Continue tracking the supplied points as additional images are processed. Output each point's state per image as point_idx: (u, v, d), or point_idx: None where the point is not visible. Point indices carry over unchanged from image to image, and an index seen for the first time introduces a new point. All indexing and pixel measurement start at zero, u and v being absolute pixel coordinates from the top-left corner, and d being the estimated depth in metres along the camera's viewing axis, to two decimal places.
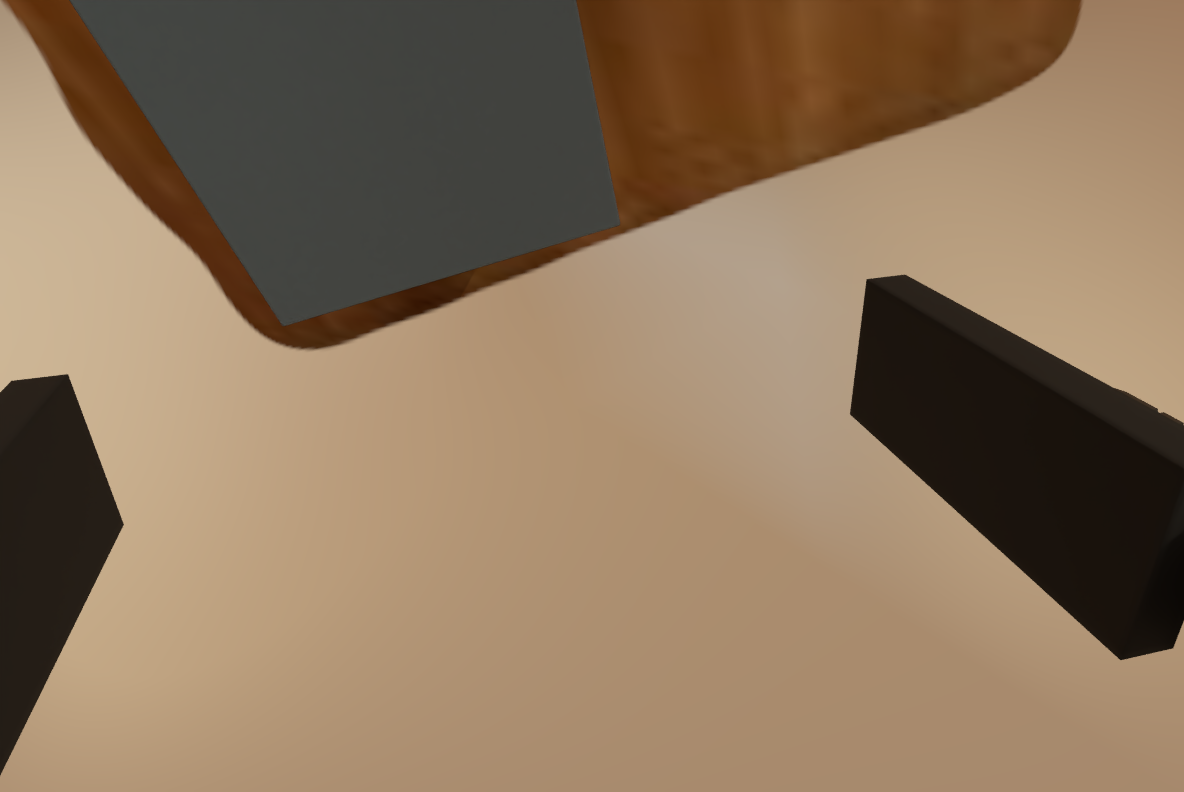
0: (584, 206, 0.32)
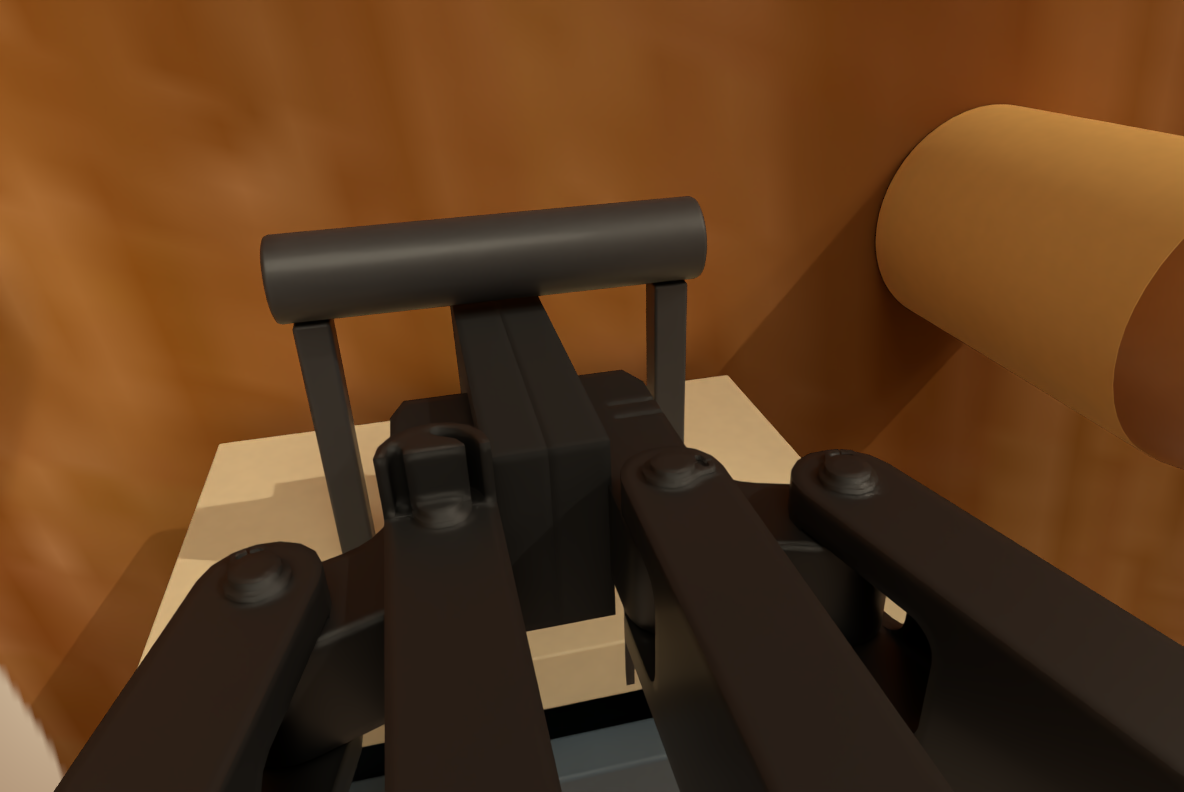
0: None
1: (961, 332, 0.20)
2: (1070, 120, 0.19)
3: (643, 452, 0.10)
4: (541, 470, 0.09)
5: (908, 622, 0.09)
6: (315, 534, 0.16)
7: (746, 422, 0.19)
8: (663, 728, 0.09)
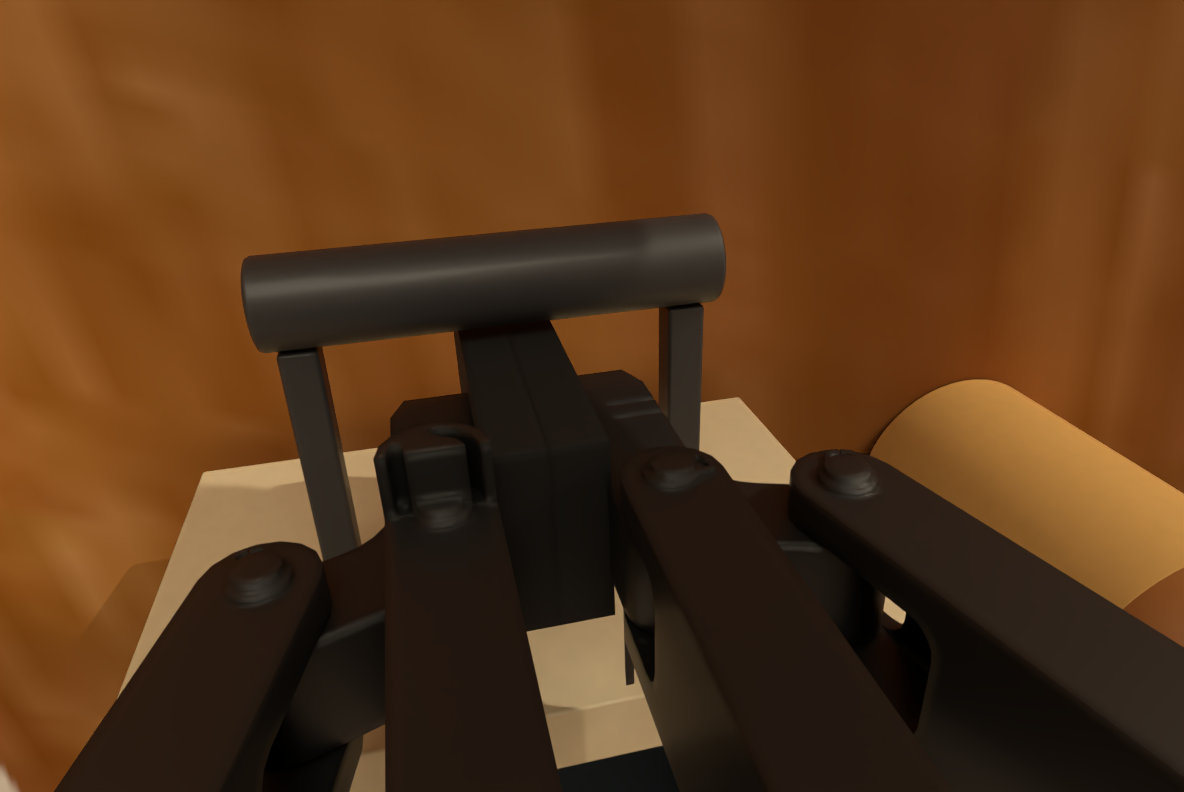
0: None
1: None
2: (1030, 426, 0.21)
3: (643, 452, 0.10)
4: (541, 470, 0.09)
5: (907, 622, 0.09)
6: None
7: (760, 449, 0.18)
8: (663, 728, 0.09)
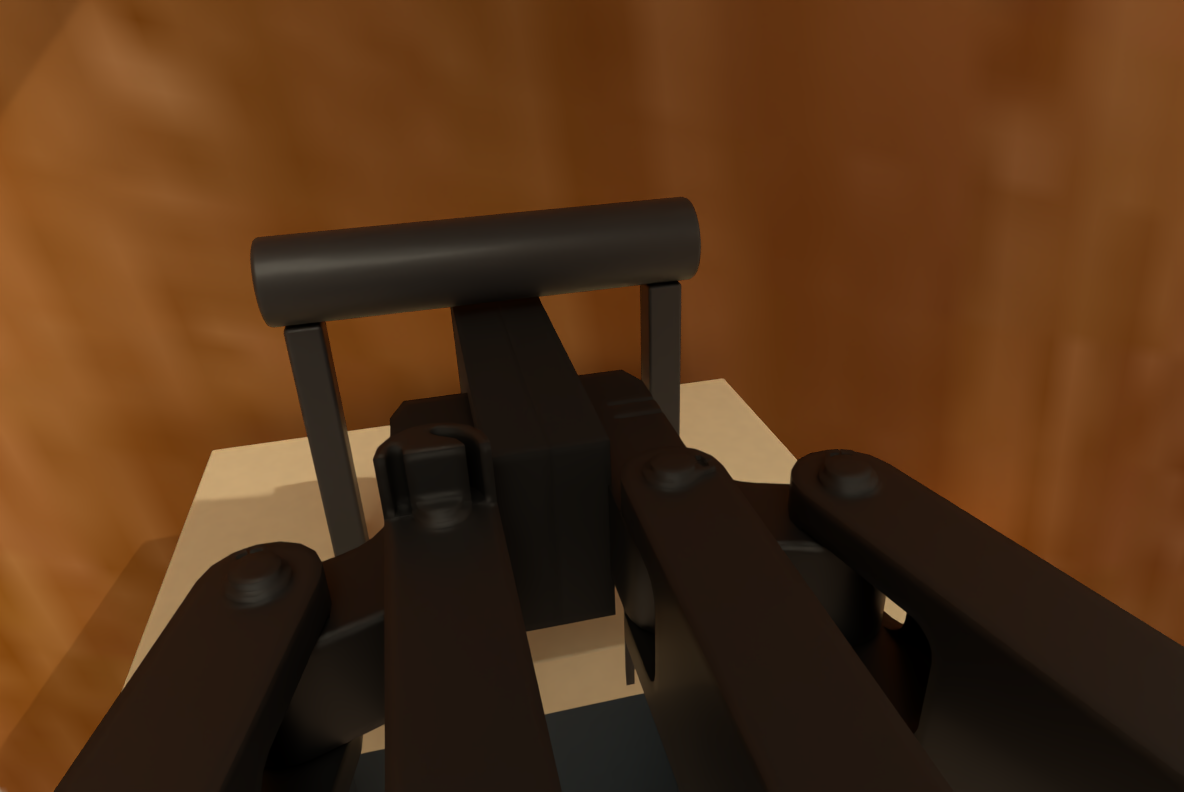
0: None
1: None
2: None
3: (643, 452, 0.10)
4: (541, 470, 0.09)
5: (907, 622, 0.09)
6: (308, 540, 0.16)
7: (742, 425, 0.19)
8: (663, 728, 0.09)
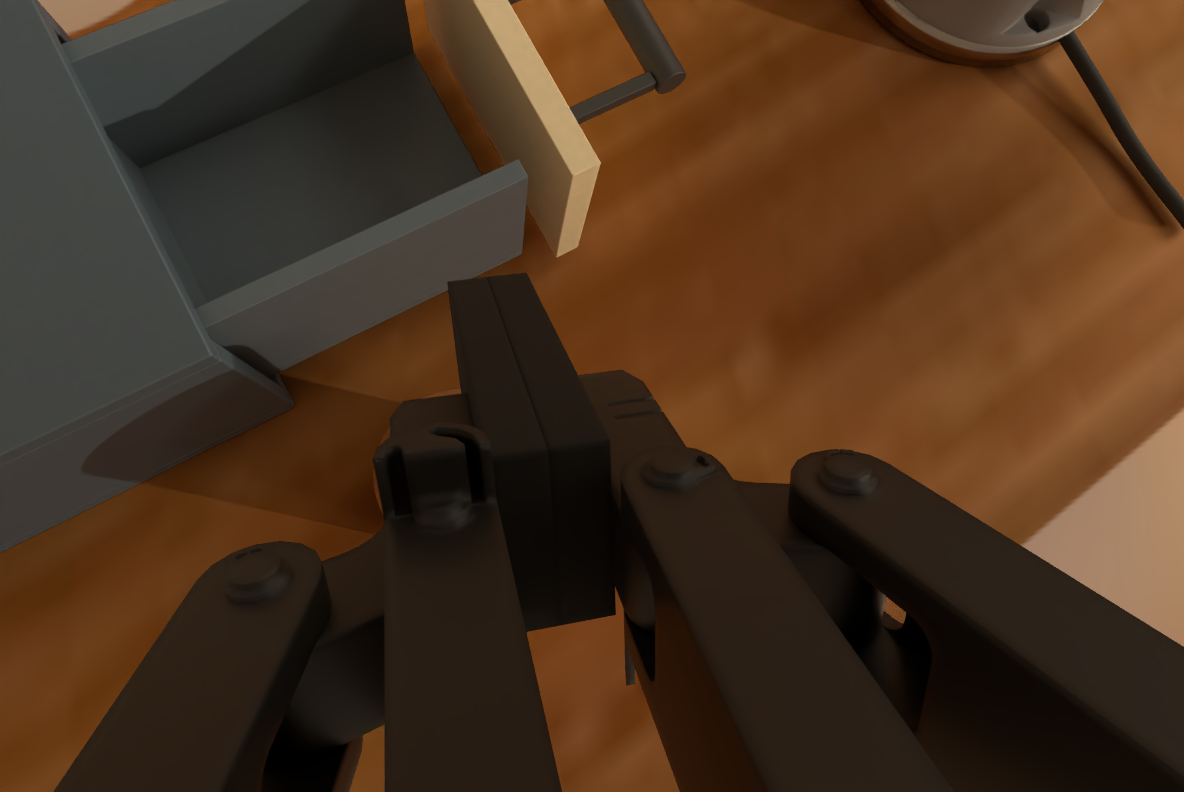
0: None
1: None
2: None
3: (643, 452, 0.10)
4: (541, 470, 0.09)
5: (907, 623, 0.09)
6: None
7: None
8: (663, 728, 0.09)
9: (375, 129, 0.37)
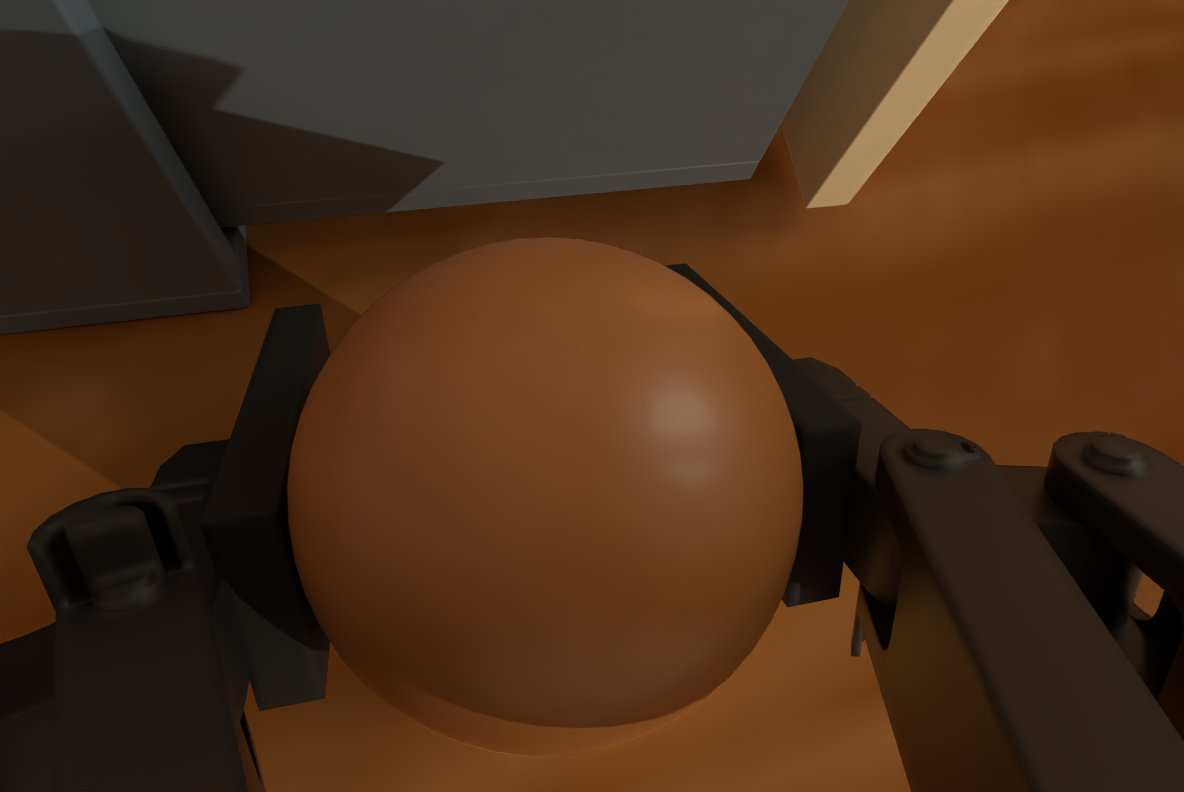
0: None
1: None
2: None
3: (905, 431, 0.10)
4: (270, 536, 0.09)
5: (1158, 615, 0.09)
6: None
7: None
8: (891, 695, 0.09)
9: None
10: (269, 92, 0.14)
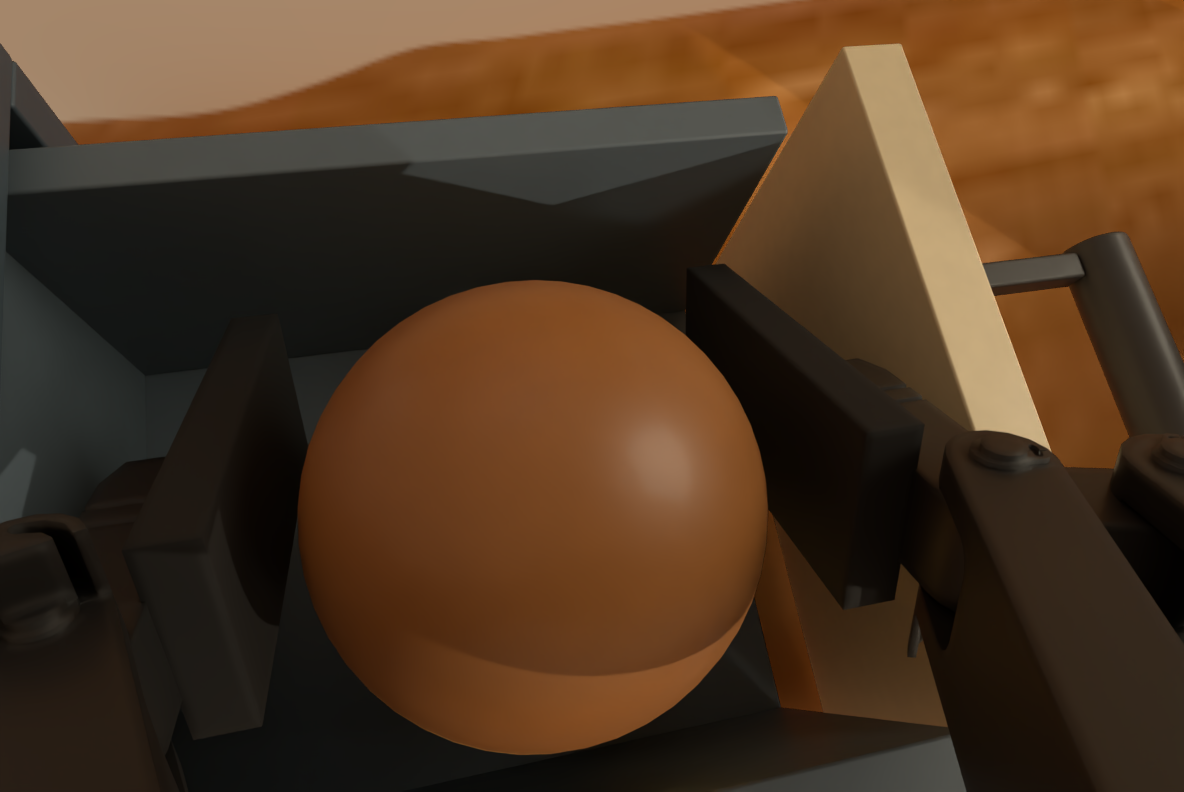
0: None
1: None
2: None
3: (972, 432, 0.10)
4: (197, 561, 0.08)
5: None
6: None
7: None
8: (948, 696, 0.09)
9: None
10: None
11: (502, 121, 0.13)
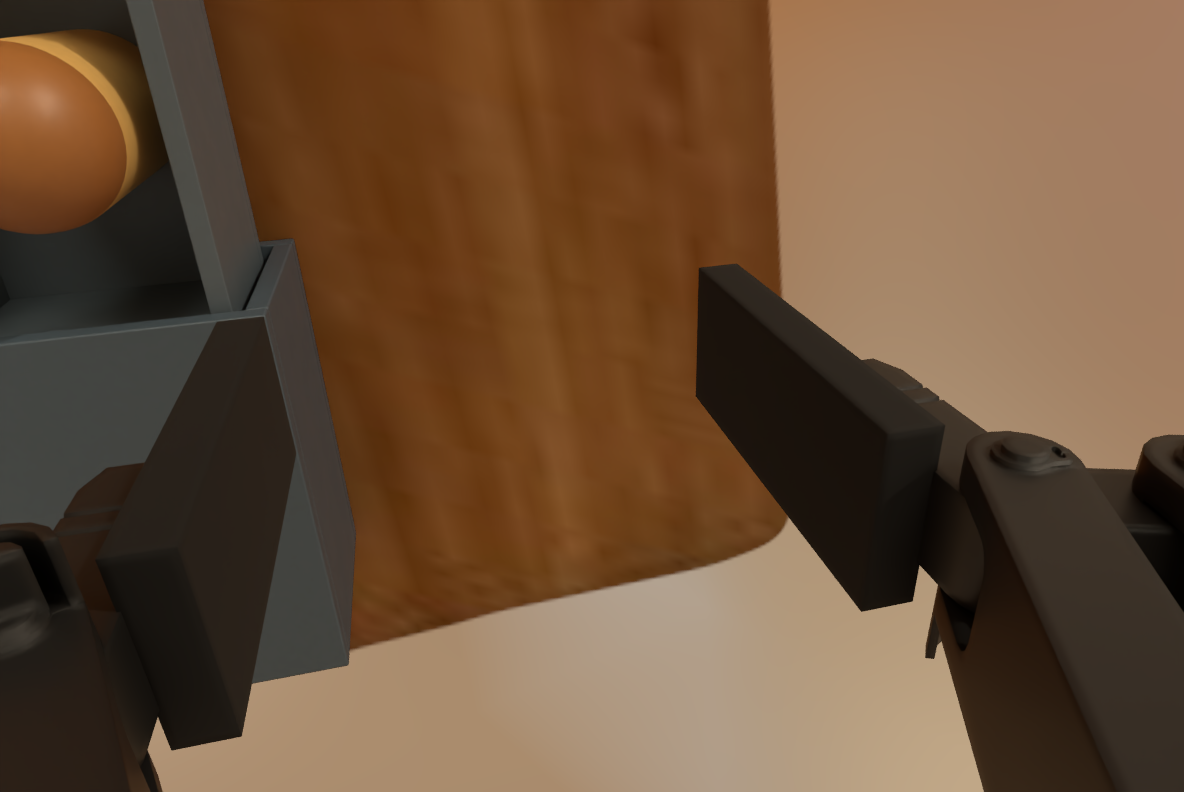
0: (315, 648, 0.37)
1: None
2: None
3: (993, 433, 0.10)
4: (173, 570, 0.08)
5: None
6: None
7: None
8: (966, 697, 0.09)
9: None
10: (237, 235, 0.33)
11: None
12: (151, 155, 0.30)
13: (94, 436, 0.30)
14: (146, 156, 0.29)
